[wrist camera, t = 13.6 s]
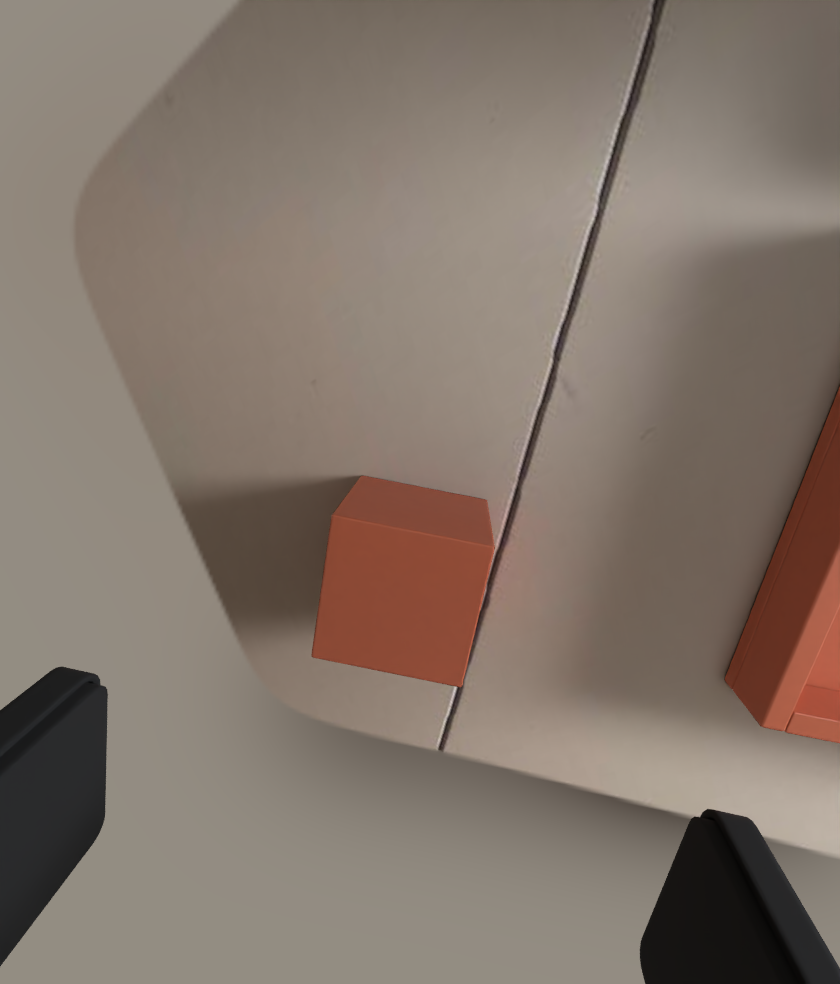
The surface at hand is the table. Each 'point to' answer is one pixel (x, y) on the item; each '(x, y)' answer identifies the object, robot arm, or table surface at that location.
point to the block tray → (799, 611)
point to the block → (404, 580)
